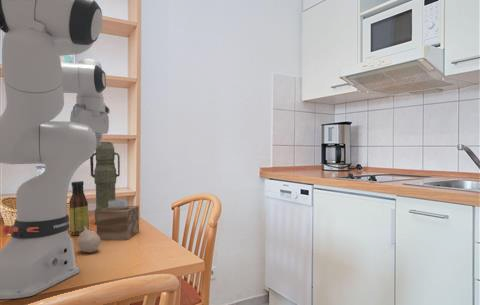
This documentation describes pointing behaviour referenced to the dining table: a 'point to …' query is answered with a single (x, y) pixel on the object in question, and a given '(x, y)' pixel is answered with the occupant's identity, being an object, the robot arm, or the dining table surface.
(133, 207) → the striped wooden crate
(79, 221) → the sauce bottle
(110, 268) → the dining table surface
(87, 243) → the garlic bulb
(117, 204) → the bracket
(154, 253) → the dining table surface
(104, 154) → the thermos
